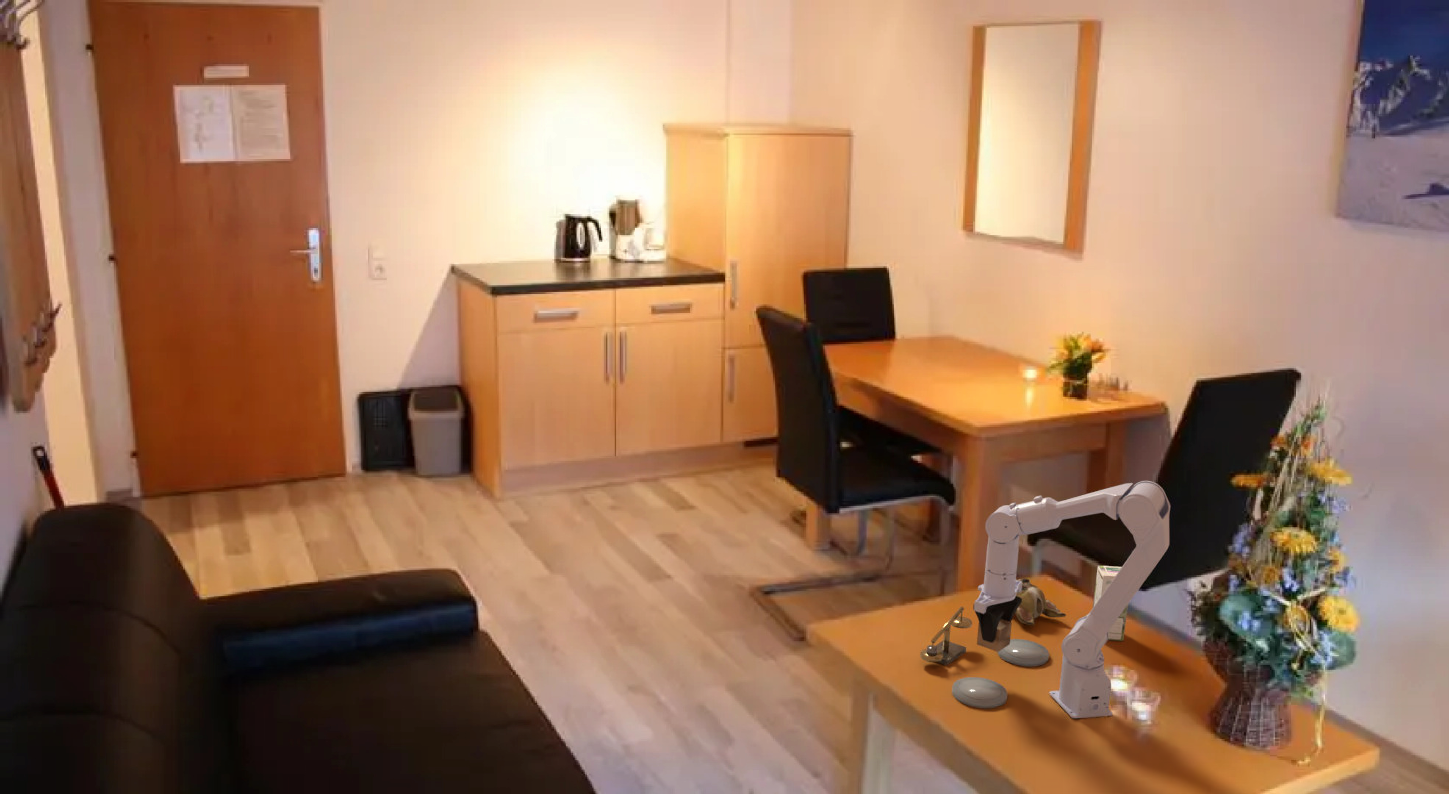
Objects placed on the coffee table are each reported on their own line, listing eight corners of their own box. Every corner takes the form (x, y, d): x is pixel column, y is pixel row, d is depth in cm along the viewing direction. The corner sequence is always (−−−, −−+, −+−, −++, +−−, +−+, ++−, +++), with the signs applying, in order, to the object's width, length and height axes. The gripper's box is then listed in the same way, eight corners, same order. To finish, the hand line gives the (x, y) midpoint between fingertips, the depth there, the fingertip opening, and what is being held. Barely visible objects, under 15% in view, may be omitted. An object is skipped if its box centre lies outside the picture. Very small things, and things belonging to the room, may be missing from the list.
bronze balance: (953, 637, 245) (956, 599, 243) (975, 645, 242) (978, 606, 240) (914, 664, 233) (917, 625, 230) (936, 672, 230) (940, 632, 227)
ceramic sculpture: (1022, 561, 263) (1072, 590, 251) (1017, 597, 266) (1066, 627, 253) (985, 570, 258) (1034, 600, 245) (981, 606, 260) (1029, 637, 248)
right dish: (1057, 664, 234) (1057, 659, 234) (1010, 668, 232) (1010, 662, 232) (1034, 642, 244) (1035, 637, 244) (989, 645, 242) (989, 640, 242)
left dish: (1015, 706, 218) (1016, 700, 217) (964, 710, 216) (965, 704, 215) (993, 680, 227) (993, 675, 227) (944, 683, 225) (944, 678, 225)
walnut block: (988, 637, 229) (990, 615, 228) (1009, 644, 226) (1011, 622, 225) (976, 644, 226) (978, 622, 225) (998, 652, 223) (1000, 630, 222)
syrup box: (1117, 629, 251) (1125, 565, 247) (1123, 642, 245) (1132, 576, 242) (1090, 628, 251) (1097, 563, 248) (1095, 640, 246) (1103, 574, 242)
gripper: (1000, 553, 230) (994, 618, 233) (962, 574, 219) (956, 641, 223) (1034, 563, 226) (1027, 629, 229) (996, 585, 215) (990, 653, 218)
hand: (994, 636), depth 226 cm, fingers closed on walnut block, 4 cm apart
